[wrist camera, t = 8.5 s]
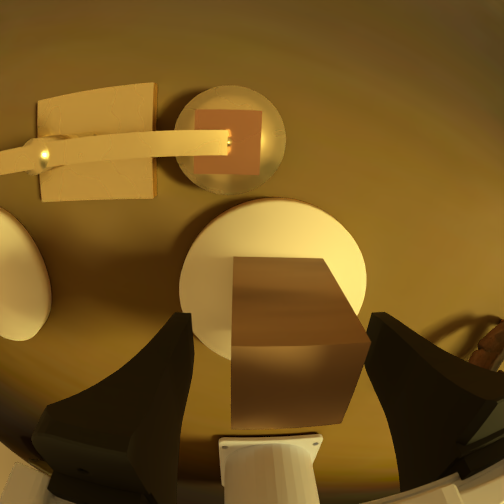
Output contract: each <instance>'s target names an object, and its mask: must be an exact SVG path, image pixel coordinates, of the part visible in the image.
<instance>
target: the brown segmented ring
mask: <svg viewBox="0 0 504 504" xmlns="http://www.w3.org/2000/svg"><path fill="white" fill-rule="evenodd" d="M503 360H504V320H503V319H502V320H501V321H500V324H498V325H497V326H496V327H495V328H494V329H492V330H491V331H490V332H489V333H488V334H487V335H486V336H485V337H484V338H483V339H481V340H480V342H479V343H478V350H476V351H474V352H473V354H472V356H471V357H470V359H469V363H471V364H474V365H476V366H479V367H482V368H485V369H488V370H491V371H494V372H497V370H498V368H499V367H500V365H501V363H502V362H503ZM498 373H502V374H504V372H503V371H502V370H499V371H498Z"/></svg>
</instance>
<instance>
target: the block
mask: <svg viewBox="0 0 504 504" xmlns="http://www.w3.org/2000/svg"><path fill="white" fill-rule="evenodd" d="M370 344H371V341H370V339H369V337H368V335H367V333H366V332H365V330H364V328H363V326H362V324H361V323H360V321H359V319H358V317H357V315H356V314H355V312H354V310H353V308H352V307H351V305H350V303H349V301H348V300H347V298H346V296H345V295H344V293H343V291H342V289H341V288H340V286H339V284H338V283H337V281H336V279H335V277H334V276H333V274H332V272H331V271H330V269H329V267H328V266H327V264H326V262H325V261H324V259H323V258H282V257H236V256H233V286H232V326H231V429H282V428H299V427H311V426H322V425H331V424H340V423H341V422H342V420H343V418H344V415H345V413H346V410H347V408H348V405H349V403H350V400H351V398H352V395H353V393H354V390H355V387H356V385H357V382H358V379H359V377H360V374H361V371H362V368H363V365H364V362H365V359H366V356H367V353H368V350H369V347H370Z"/></svg>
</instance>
